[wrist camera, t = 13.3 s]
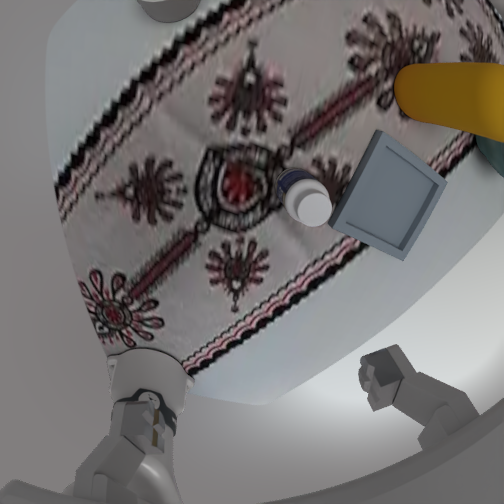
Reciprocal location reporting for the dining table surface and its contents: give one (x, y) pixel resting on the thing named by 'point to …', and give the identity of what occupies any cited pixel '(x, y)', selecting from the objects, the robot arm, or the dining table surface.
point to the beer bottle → (454, 96)
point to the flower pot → (492, 152)
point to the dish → (388, 197)
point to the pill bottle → (303, 197)
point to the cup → (169, 9)
